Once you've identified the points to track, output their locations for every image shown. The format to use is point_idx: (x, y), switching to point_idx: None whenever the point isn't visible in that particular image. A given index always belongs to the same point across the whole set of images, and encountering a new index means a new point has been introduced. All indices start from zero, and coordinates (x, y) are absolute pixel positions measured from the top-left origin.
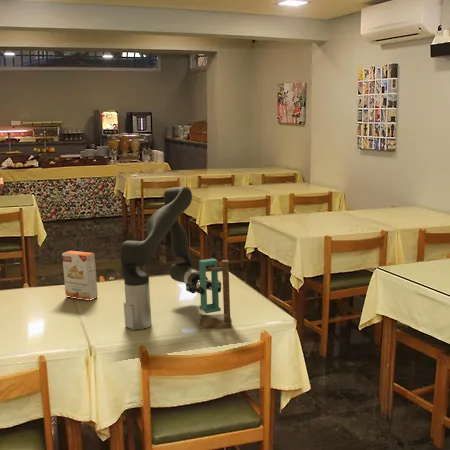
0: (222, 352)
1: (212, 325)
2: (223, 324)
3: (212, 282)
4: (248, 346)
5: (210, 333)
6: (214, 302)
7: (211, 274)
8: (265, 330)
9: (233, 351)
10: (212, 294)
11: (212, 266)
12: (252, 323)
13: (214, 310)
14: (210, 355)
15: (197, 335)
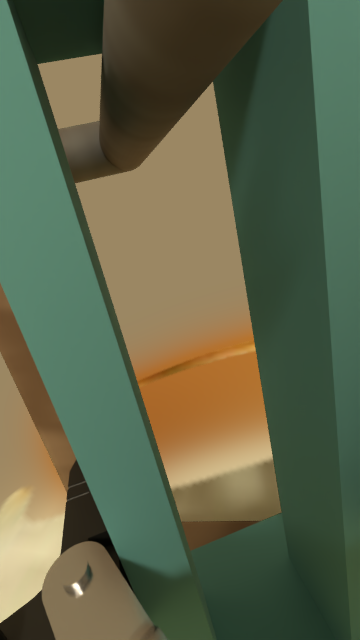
0: (217, 357)
1: (252, 524)
2: (185, 522)
3: (154, 450)
4: (142, 384)
5: (261, 471)
6: (206, 607)
7: (112, 331)
8: (21, 491)
9: (188, 363)
10: (207, 616)
11: (44, 100)
12: (4, 603)
13: (222, 543)
14: (247, 346)
15: None
